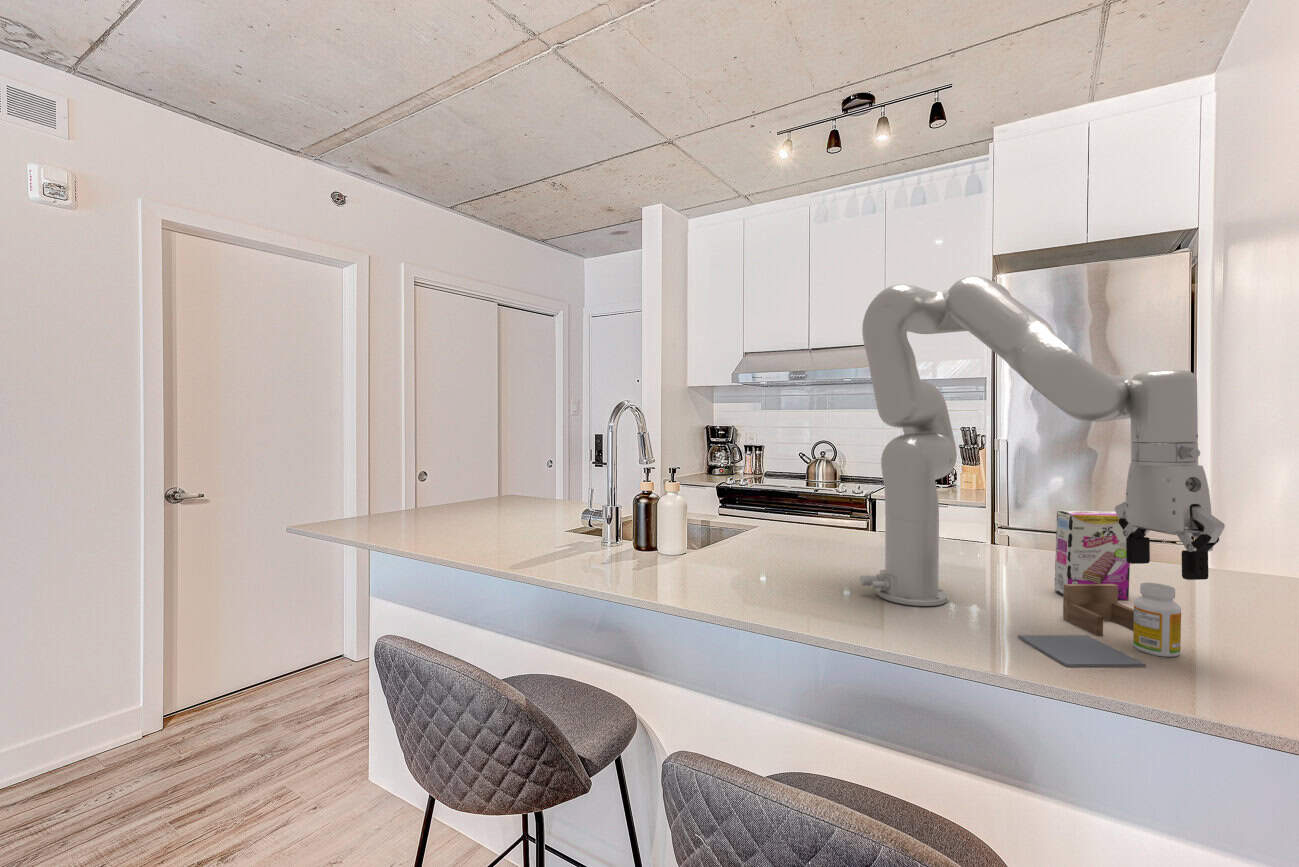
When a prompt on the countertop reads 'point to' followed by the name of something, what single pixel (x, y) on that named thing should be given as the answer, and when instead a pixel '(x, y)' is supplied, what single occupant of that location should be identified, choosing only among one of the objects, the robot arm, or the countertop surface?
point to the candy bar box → (1091, 550)
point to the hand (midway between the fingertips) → (1165, 570)
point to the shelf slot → (1095, 606)
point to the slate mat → (1080, 651)
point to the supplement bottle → (1157, 621)
